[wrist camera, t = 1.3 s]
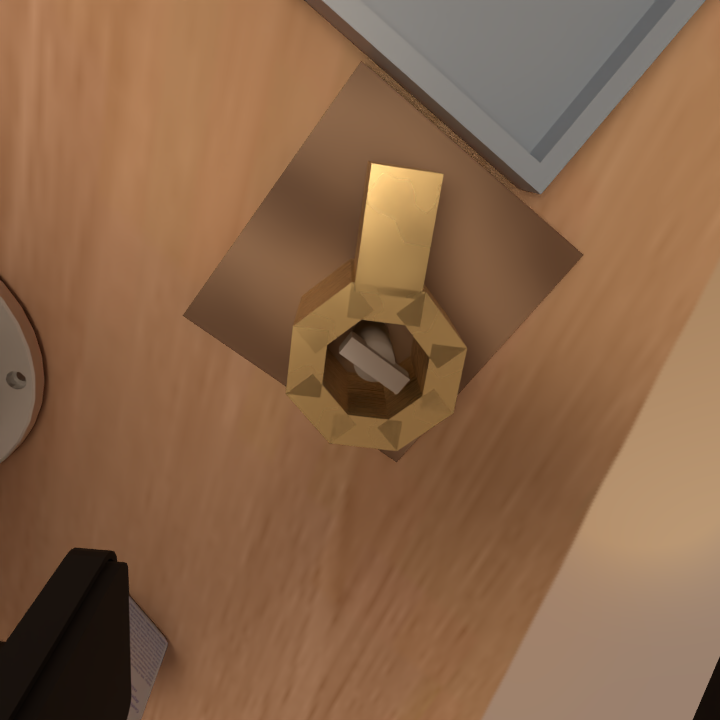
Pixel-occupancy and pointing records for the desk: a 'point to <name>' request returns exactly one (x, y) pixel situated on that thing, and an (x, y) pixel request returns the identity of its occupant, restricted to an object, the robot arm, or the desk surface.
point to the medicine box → (143, 658)
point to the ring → (381, 304)
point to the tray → (514, 67)
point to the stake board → (339, 238)
